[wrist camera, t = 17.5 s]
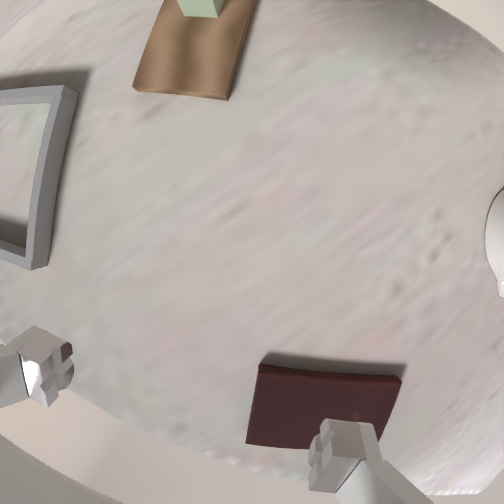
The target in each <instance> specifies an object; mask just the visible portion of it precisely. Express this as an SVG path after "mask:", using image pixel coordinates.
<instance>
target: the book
mask: <svg viewBox="0 0 504 504" xmlns="http://www.w3.org/2000/svg"><path fill="white" fill-rule="evenodd" d="M258 368H259V370H258V375H257V380H256V386H255V392H254V397H253V403H252V408H251V414H250V420H249V426H248V431H247V437H246V442H245V443H246V444H252V445H259V446H267V447H277V448H291V449H310V446H311V443H312V441H313V439H314V437H315V436H316V435H318V434H320V426H321V424H322V422H323V421H324V420H325V419H326V418H327V419H334V420H342V421H351V422H363V423H371V424H372V425H373V426H374V430H375V433H376V437H377V441H378V442H379V440H380V438H381V436H382V434H383V431H384V428H385V426H386V424H387V422H388V419H389V417H390V414H391V412H392V409H393V407H394V404H395V402H396V399H397V396H398V393H399V390H400V387H401V384H402V382H401V380H400V379H399V378H398V377H397V376H380V375H358V374H341V373H331V372H320V371H309V370H300V369H292V368H284V367H277V366H271V365H265V364H261V365H259V366H258Z"/></svg>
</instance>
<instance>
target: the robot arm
mask: <svg viewBox="0 0 504 504" xmlns="http://www.w3.org/2000/svg"><path fill="white" fill-rule="evenodd" d="M485 245H486V253H487V257H488V261H489V264H490V266H491V268H492V270H493V272H494V274H495V276H496V278H497V284H498V291H499V295H500V296H501V297H504V190H502V191H501V192H500V193H499V194H498V195H497V197H496V198H495V200H494V202H493V204H492V206H491V208H490V211H489V214H488V218H487V222H486V230H485ZM72 354H73V352H72V345H71V344H70V343H69V342H67V341H65V340H63V339H61V338H59V337H57V336H55V335H53V334H51V333H49V332H47V331H45V330H43V329H41V328H39V327H38V326H32V327H31V328H29V329H28V330H26V331H25V332H24V333H22V334H21V335H19V336H18V337H17V338H15V339H14V340H12V341H11V342H10V343H8V344H7V345H6V346H5V345H3V344H0V408H3V407H6V406H8V405H11V404H14V403H17V402H20V401H23V400H25V399H28V397H29V398H31V399H33V400H35V401H36V402H38V403H40V404H42V405H44V406H46V407H47V408H48V407H49V406H50V405H51V404H52V403H53V402H54V401H55V400H56V399H57V397H58V391H59V390H63V389H66V388H67V387H68V385H69V384H70V383H71V380H72V378H73V374H74V364H73V362H72V361H71V359H70V356H71V355H72ZM308 463H309V465H310V466H311V467H312V469H311V471H310V473H309V490H311V491H319V492H329V493H335V495H336V497H337V498H338V500H339V501H340V502H341V504H434V503H433V502H432V501H431V500H430V499H429V498H427V497H426V496H425V495H424V494H423V493H422V492H421V491H420V490H418V489H417V488H416V487H415V486H414V485H413V484H412V483H411V482H410V481H408V480H407V479H406V478H405V477H404V476H403V475H402V474H401V473H400V472H399V471H397V470H396V469H395V468H394V467H393V466H392V465H391V464H390V463H389V462H388V461H383V459H382V456H381V452H380V448H379V444H378V441H377V437H376V433H375V430H374V426H373V425H372V424H371V423H363V422H351V421H342V420H334V419H327V418H326V419H325V420H324V421H323V422H322V424H321V426H320V434H318V435H316V436H315V437H314V439H313V441H312V443H311V446H310V449H309V454H308ZM0 504H125V503H123V502H120V501H118V500H115V499H113V498H111V497H108V496H106V495H104V494H102V493H100V492H97V491H95V490H93V489H91V488H89V487H87V486H85V485H83V484H81V483H79V482H77V481H75V480H73V479H71V478H69V477H67V476H66V475H64V474H62V473H60V472H58V471H57V470H55V469H53V468H51V467H49V466H48V465H46V464H45V463H43V462H41V461H40V460H38V459H36V458H35V457H33V456H32V455H30V454H28V453H27V452H25V451H24V450H22V449H21V448H19V447H18V446H17V445H15V444H14V443H12V442H11V441H9V440H8V439H6V438H5V437H4V436H2V435H1V434H0Z"/></svg>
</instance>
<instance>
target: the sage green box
mask: <svg viewBox="0 0 504 504" xmlns="http://www.w3.org/2000/svg"><path fill="white" fill-rule="evenodd" d="M177 2H178V4H179V6H180V8H181V10H182V12H183V14H184V16H195V17H213V18H218V17H219V14H220V11H221V8H222V5H223V2H224V0H177Z"/></svg>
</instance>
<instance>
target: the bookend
mask: <svg viewBox="0 0 504 504" xmlns="http://www.w3.org/2000/svg"><path fill="white" fill-rule="evenodd" d="M255 3H256V0H224V2H223V5H222V8H221V11H220V14H219V17H218V18H213V17H195V16H184V14H183V12H182V10H181V8H180V6H179V4H178V2H177V0H164V2H163V4H162V7H161V9H160V11H159V14H158V16H157V18H156V21H155V23H154V26H153V28H152V31H151V34H150V36H149V39H148V41H147V44H146V47H145V50H144V52H143V55H142V58H141V61H140V64H139V67H138V70H137V73H136V76H135V79H134V82H133V85H132V87H133V88H135V89H136V90H137V91H140V92H155V93H167V94H178V95H187V96H196V97H204V98H212V99H219V100H226V101H228V98H229V94H230V90H231V87H232V83H233V79H234V75H235V72H236V68H237V64H238V61H239V57H240V53H241V50H242V46H243V43H244V39H245V36H246V32H247V29H248V26H249V22H250V19H251V16H252V12H253V9H254V6H255Z"/></svg>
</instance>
